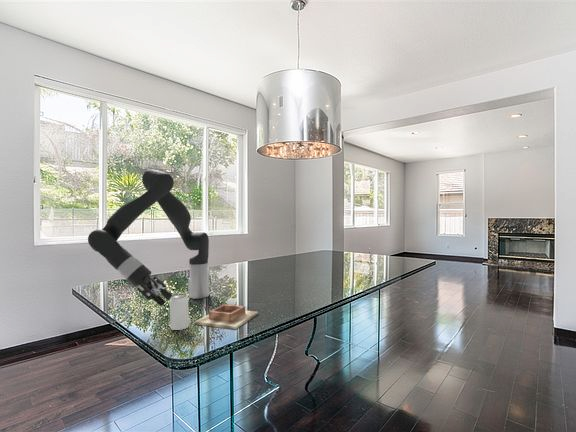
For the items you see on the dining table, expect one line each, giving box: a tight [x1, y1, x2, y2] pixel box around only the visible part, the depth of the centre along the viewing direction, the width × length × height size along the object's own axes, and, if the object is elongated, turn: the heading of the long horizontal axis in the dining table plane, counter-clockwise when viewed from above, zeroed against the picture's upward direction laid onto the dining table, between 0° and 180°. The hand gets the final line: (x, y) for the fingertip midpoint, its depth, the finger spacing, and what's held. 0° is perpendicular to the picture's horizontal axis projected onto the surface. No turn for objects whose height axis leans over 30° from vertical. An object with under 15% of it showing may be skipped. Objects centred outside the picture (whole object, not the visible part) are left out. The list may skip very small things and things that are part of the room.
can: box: [169, 293, 190, 331], centre depth 114 cm, size 6×6×12 cm
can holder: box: [194, 303, 259, 330], centre depth 123 cm, size 18×18×4 cm
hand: (167, 301), depth 114 cm, fingers open, 8 cm apart
